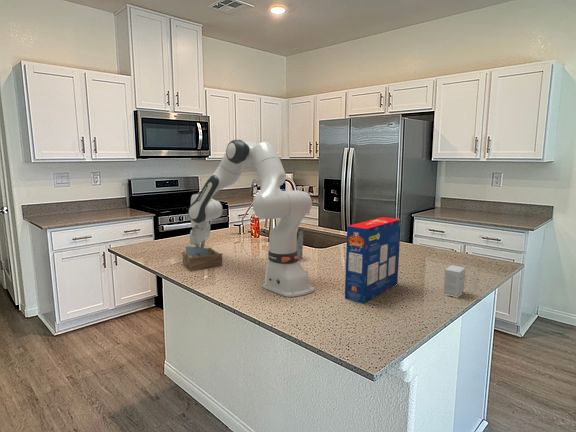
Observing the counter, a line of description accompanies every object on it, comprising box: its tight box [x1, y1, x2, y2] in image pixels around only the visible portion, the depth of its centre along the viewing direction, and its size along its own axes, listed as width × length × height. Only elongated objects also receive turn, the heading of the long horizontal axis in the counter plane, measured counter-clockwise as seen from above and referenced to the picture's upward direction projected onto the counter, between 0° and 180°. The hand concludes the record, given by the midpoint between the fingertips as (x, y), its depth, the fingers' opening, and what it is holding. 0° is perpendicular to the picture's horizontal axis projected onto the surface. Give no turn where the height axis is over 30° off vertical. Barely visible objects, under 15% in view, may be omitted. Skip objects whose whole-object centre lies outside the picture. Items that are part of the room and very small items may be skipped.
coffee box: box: [296, 227, 304, 261], centre depth 197 cm, size 9×6×16 cm
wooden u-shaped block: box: [182, 247, 223, 272], centre depth 185 cm, size 13×16×6 cm
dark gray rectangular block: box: [194, 253, 206, 257], centre depth 185 cm, size 9×4×5 cm, turn 33°
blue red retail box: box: [344, 216, 402, 305], centre depth 150 cm, size 28×8×28 cm, turn 139°
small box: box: [442, 264, 466, 297], centre depth 149 cm, size 8×6×10 cm
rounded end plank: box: [185, 245, 211, 257], centre depth 198 cm, size 1×15×6 cm, turn 68°
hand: (200, 249), depth 203 cm, fingers open, 5 cm apart
